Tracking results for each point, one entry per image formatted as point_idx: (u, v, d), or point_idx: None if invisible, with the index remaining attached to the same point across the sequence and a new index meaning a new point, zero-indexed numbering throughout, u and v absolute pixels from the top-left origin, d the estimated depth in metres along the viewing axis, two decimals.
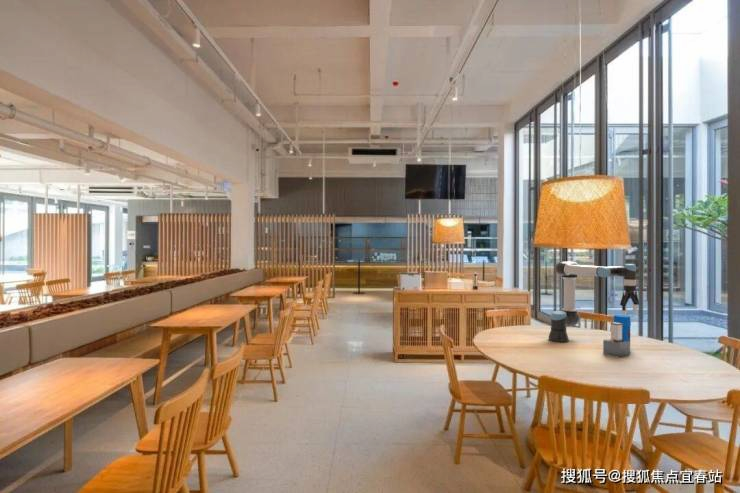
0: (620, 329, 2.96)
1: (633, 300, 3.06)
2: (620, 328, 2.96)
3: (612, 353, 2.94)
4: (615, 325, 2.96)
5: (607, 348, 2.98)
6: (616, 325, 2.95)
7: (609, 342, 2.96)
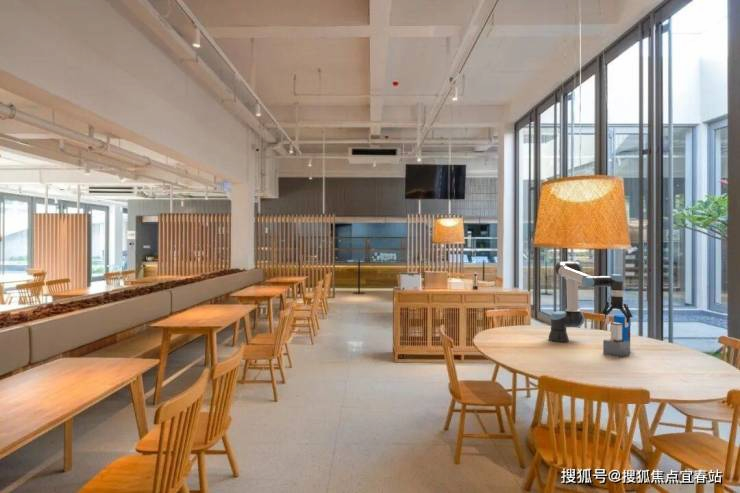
0: (620, 329, 2.96)
1: None
2: (620, 328, 2.96)
3: (612, 353, 2.94)
4: (615, 325, 2.96)
5: (607, 348, 2.98)
6: (616, 325, 2.95)
7: (609, 342, 2.96)
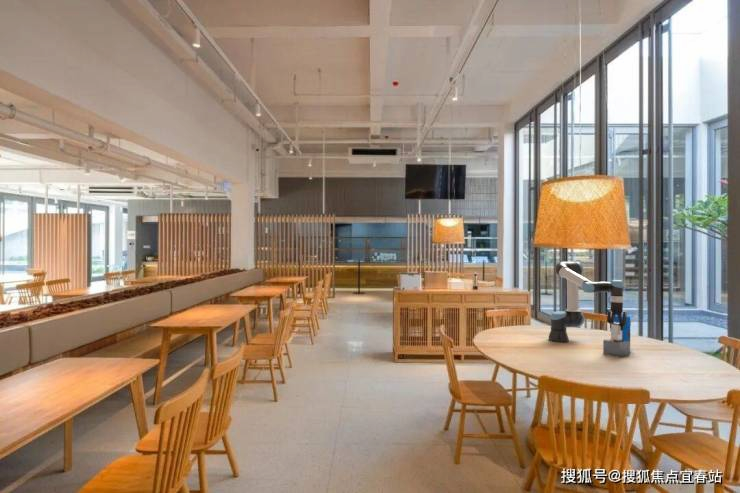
0: None
1: None
2: None
3: (612, 353, 2.94)
4: (615, 325, 2.96)
5: (607, 348, 2.98)
6: (616, 325, 2.95)
7: (609, 342, 2.96)
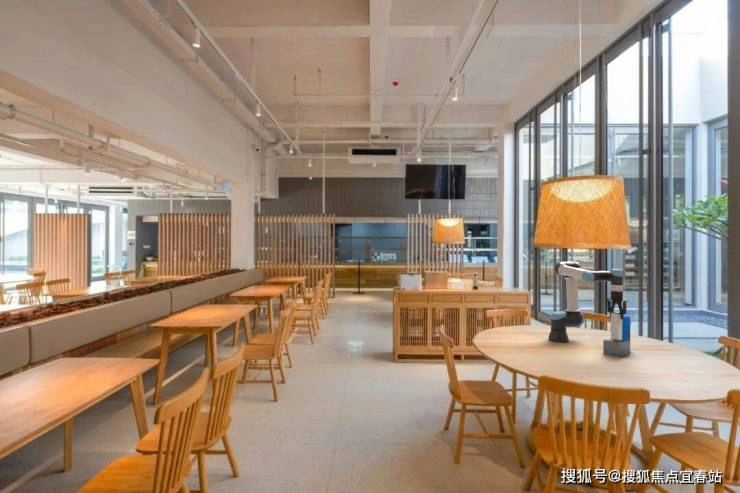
0: None
1: None
2: None
3: (612, 353, 2.94)
4: (615, 314, 2.96)
5: (607, 348, 2.98)
6: (616, 314, 2.95)
7: (609, 342, 2.96)
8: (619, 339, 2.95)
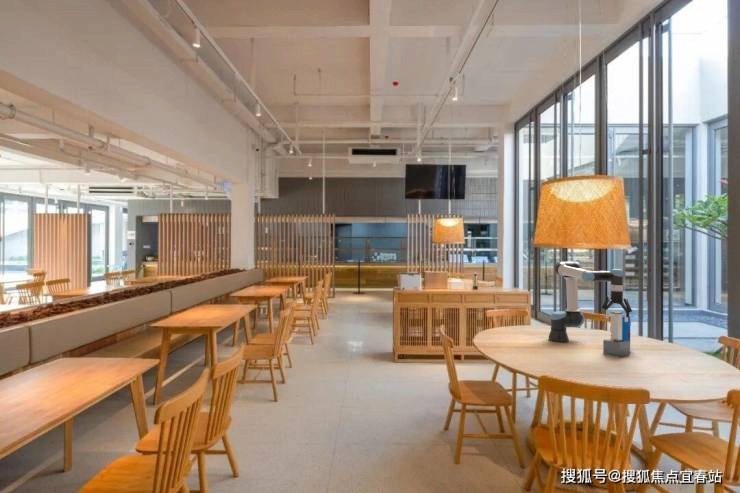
0: (620, 318, 2.96)
1: None
2: (620, 317, 2.96)
3: (612, 353, 2.94)
4: (615, 314, 2.96)
5: (607, 348, 2.98)
6: (616, 314, 2.95)
7: (609, 342, 2.96)
8: (619, 339, 2.95)
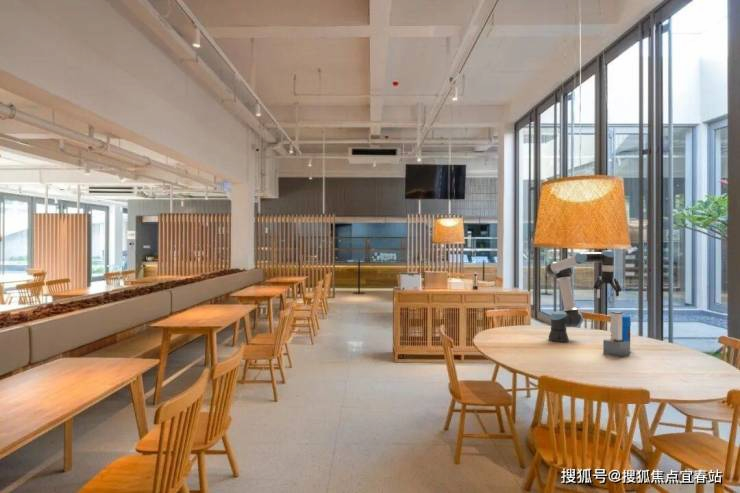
0: (620, 318, 2.96)
1: None
2: (620, 317, 2.96)
3: (612, 353, 2.94)
4: (615, 314, 2.96)
5: (607, 348, 2.98)
6: (616, 314, 2.95)
7: (609, 342, 2.96)
8: (619, 339, 2.95)
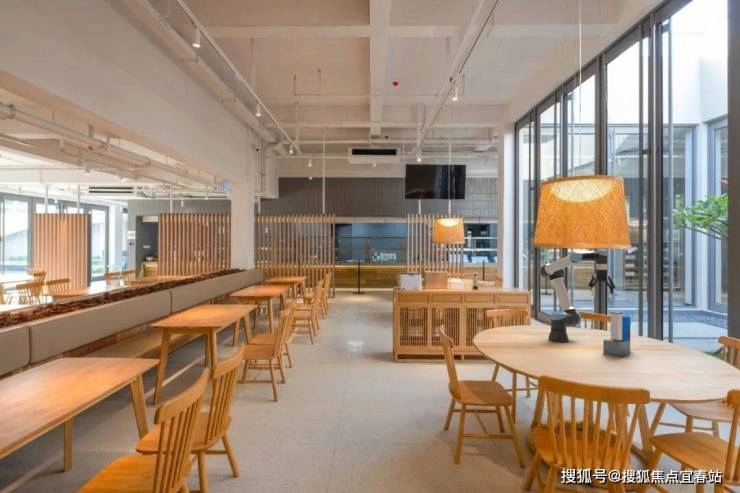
0: (620, 318, 2.96)
1: None
2: (620, 317, 2.96)
3: (612, 353, 2.94)
4: (615, 314, 2.96)
5: (607, 348, 2.98)
6: (616, 314, 2.95)
7: (609, 342, 2.96)
8: (619, 339, 2.95)
